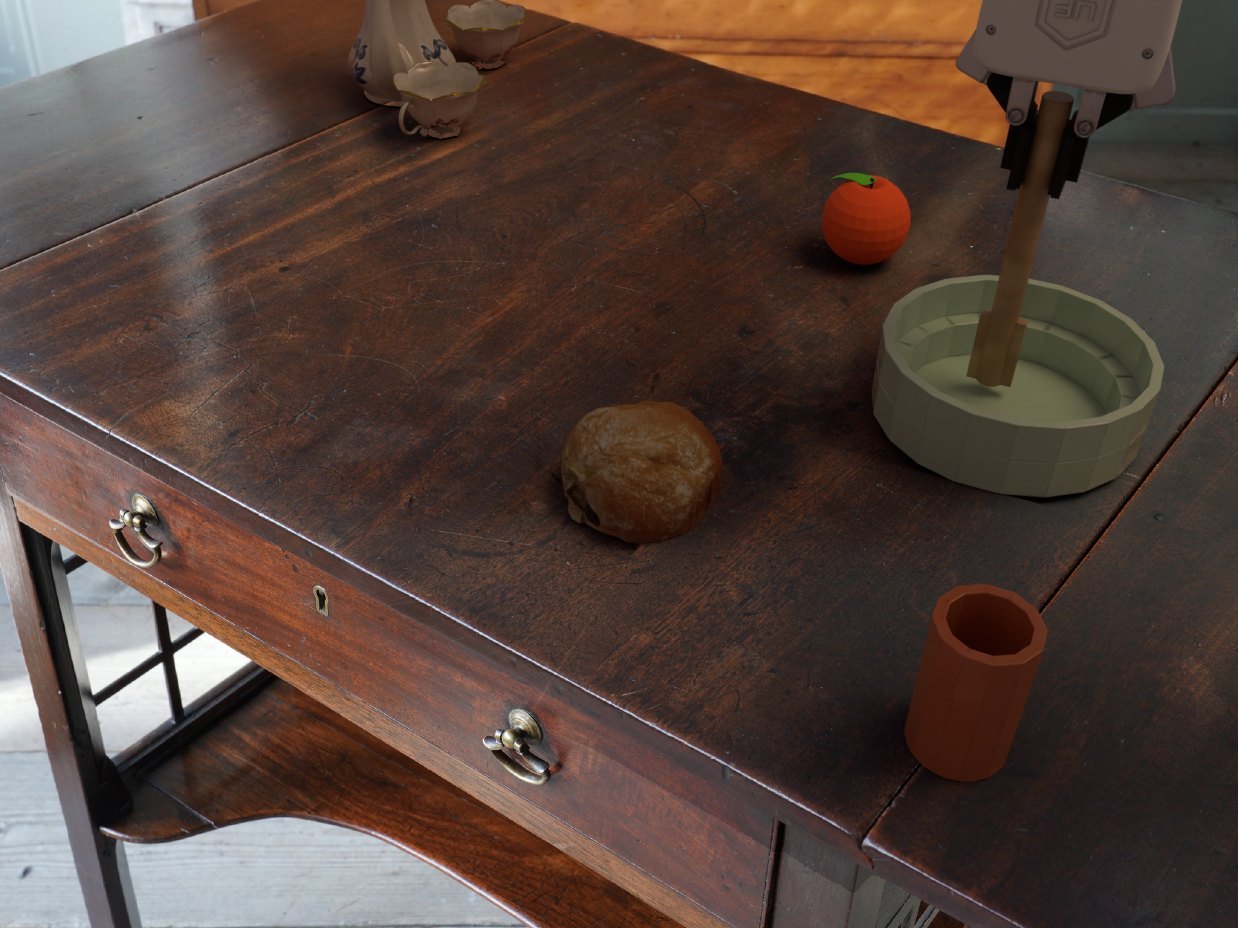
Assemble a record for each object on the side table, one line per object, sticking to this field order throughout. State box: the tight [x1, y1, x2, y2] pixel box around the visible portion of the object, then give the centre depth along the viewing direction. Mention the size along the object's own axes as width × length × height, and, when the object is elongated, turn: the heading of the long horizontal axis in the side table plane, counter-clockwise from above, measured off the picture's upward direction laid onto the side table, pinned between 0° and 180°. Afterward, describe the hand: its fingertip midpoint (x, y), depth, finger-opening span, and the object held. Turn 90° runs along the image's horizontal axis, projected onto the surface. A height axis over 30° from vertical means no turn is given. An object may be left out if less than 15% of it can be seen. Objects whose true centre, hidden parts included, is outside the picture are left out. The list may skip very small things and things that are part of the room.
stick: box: [966, 90, 1075, 387], centre depth 77 cm, size 3×2×20 cm, turn 65°
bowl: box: [871, 274, 1165, 498], centre depth 80 cm, size 17×17×6 cm
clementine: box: [820, 172, 912, 266], centre depth 97 cm, size 8×7×7 cm
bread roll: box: [560, 400, 724, 545], centre depth 75 cm, size 10×10×8 cm
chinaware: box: [347, 0, 527, 137], centre depth 119 cm, size 28×17×17 cm, turn 176°
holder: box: [903, 583, 1049, 782], centre depth 58 cm, size 5×5×9 cm
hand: (1036, 183), depth 74 cm, fingers closed on stick, 1 cm apart
